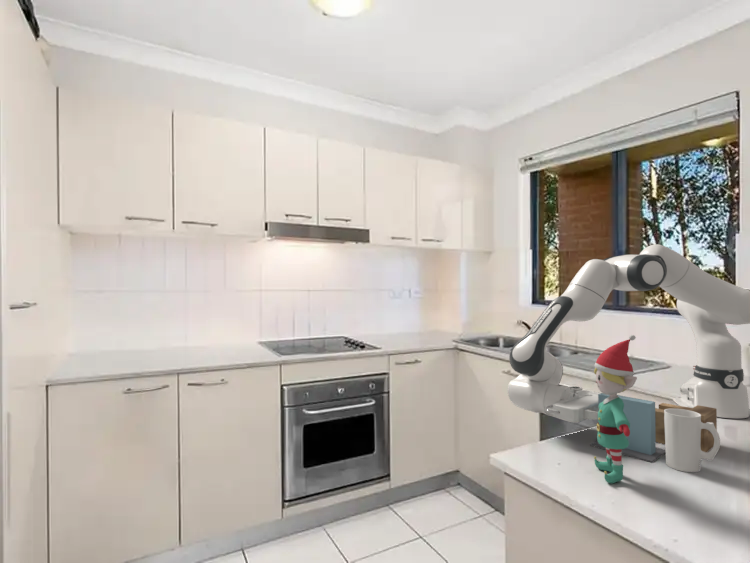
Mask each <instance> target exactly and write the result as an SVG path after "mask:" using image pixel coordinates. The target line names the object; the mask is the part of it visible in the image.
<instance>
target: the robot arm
mask: <svg viewBox="0 0 750 563" xmlns="http://www.w3.org/2000/svg"><path fill="white" fill-rule="evenodd" d="M658 287H659V288H661V289H662V290H664V291H665V292H666V293H668V294H669V295H670V296H672V297H673V298H675V300H676V309H677V312H678V313H679V314H680V315H681V316H682V317H683V318H684V319H685V320H686V321H687V323H688V324H689V327H690V328H691V330H692V334H693V336H694V338H695V339H694V340H695V346H696V365H693V366H692V367H693V368H692V369H693V374H692V375H693V376H692V377H691V378H689V379H688V380H687V381H686V382H684V383H682V385H681V387H680V388H679V393H680V396H675V397H673V398H672V401H673V402H675V403H676V404H677V405H678V406H683V407H689V408H694V407H695V406H697V405H699V406H705V407H711V408H716V409H717V418H723V419H724V418H726V419H745V418H746V419H747V418H749V417H750V403H749V402H750V400H749V394H748V388H747V386H746V385H745V384H744V383H743V382H744V378H745V373H744V369H743V368H742V345H741V343H740V340H738V339H737V338H735V337H734V336H732V334H731V333H730V331H729V330H728V328H727V325H735V326H737V325H739V326H742V325H749V324H750V290H749V289H747V288H743V287H742V286H741V287H740V286H738V285H735V284H733V283H730V282H728V281H726V280H724V279H722V278H719V277H717V276H714V275H713V274H711V273H709V272H706V271H704V269H702V268H700V267H699V266H697V265H696V264H694V263H693V262H692V261H690V260H689V259H687V258H686V257H685V256H684V255H682V254H680V253H679V252H677V251H676V250H673V249H671V248H669V247H667V246H665V245H662V244H658V243H656V244H655V243H654V244H651V245H648V246H646V247H645V248H643V249H642V250H641V251H640V252H639V254H622V255H618V256H609V257H606V258H604V259H598V258H593V259H590V260H588V261H586V262H585V263H584V265H582V267H580V269H579V270H578V271H577V273H576V274H575V276H574V277H573V278H572V280H571V281H570V283H569V284H568V286H567V288H566V289H565V290H564V292H563V293H562V294H561V295H560V296H557V297H556V298H554V299H553V300H552V301H551V302H550V303H549V304H548V306H547V307H546V308H545V309H544V311H542V313H541V314H540V316H539V317H538V318H537V319H536V321H535V322H534V323H533V325H532V326H531V328H530V329H529V330H528V331H527V333H526V334H525V335H523V337H522V338H520V339H519V340H518V341H517V342H516V343H515V344H514V345H513V346H512V347H511V350H510V352H509V359H508V360H509V364H510V366H511V368H512V369H513V370H514V371H515V372H517V373H518V374H519V375H518V376H516V377H515V378H513V379H511V380H510V381H509V382H508V384H507V396H508V399H509V401H510V402H511V404H512V405H514V406H515V407H516V408H519V409H523V410H524V411H529V412H532V413H538V414H539V413H542V414H545V415H546V416H549V417H552V418H556V419H559V420H562V421H565V422H569V423H572V424H579V423H582V422H584V421H586V420H588V421H589V420H592V421H593V420H594V421H598V394H601V393H602V392H596V391H592V390H588V389H583V387H581V386H567V385H566V386H565V385H560V383H561V381H562V377H563V375H564V367H563V364H562V362H561V361H560V360H559V359H558V358H557V357H556V356H554V355H553V354H552V353H551V352H549V351H548V350H547V345H548V344H549V342H550V341H551V340H552V338H553V337H554V336H555V334H556V333H557V332H558V330H559V329H560V328H561V326H562V325H564V324H565V323H567V322H571V321H573V322H582V323H583V322H588V321H590V320H593V319H594V318H595V317H596V316H598V314H599V313H600V312H601V310H602V308H603V306H604V305H605V303H606V302H607V300H608V298H609V296H610V293H611V292H612V291H615V290H616V291H622V292H638V291H640V292H646V291H652V290H655V289H657V288H658Z"/></svg>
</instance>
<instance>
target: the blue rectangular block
mask: <svg viewBox="0 0 750 563" xmlns="http://www.w3.org/2000/svg"><path fill="white" fill-rule="evenodd" d="M600 393H601V394H598V411H599V404H600V403H601V402H603V401H604V400H605V399H606V398H607V397H609V396H610V395H606V394H603V393H602V392H600ZM617 396H619V397H620V398H621V399H622V401H623V403H624V408H623V412H624V414H625V415H626V417H627V419H628V421H629V423H630V428H629V430H630V435H629V436H626V438H627V439H628V441H629V445H628V447H627V448H626V449H630V450H633V451H637V452H641V453H645V454H649V455H652V454H653V453H655V452H656V445H657V444H656V431H655V408H656V401H652V400H648V399H642V398H636V397H631V396H626V395H619V394H617ZM623 433H624V432H623Z"/></svg>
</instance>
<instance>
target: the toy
mask: <svg viewBox="0 0 750 563" xmlns="http://www.w3.org/2000/svg"><path fill="white" fill-rule="evenodd" d="M636 338H637V337H636V335H634V334H631V335H629V337H628V339H626V340H623V341H619V342H617V343H614V344H613V345H611V346H609V347H607V348H605V350H604V351H602V352H601V353H599V356H598V357H597V359H596V360H595V363H594V371H593V373H594V374H595V380H596V381H595V383H596V385H597V388H598V390H599V392H600V393H603V394H606V395H610V396H609V397H607V398H606V399H605V400H604V401H603V402H601V403H600V404H599V411H598V420H597V423H596V431H597V436H596V438H597V440H598V443H599V444H600V445H601V446H603V447H605V448H606V450H605V452H606V457H605V458H606V459H605V460H606V461H599V460H598V459H597V456H596V455H595V456H593V459H594V466H596V468H597V469H598V470H600V471H603V473H604V476H603V477H604V480H605V482H606V483H608V484H615V483H616V482H622V481H623V478H624V465H623V462H622V461H623V459H622V458H623V457H622V456H623V454H622V450H621V449H625V448H627V447H628V445H629V441H628V439H627V438H626V436H629V435H630V430H629V428H630V423H629V421H628V419H627V417H626V415H625V414H624V412H623V408H624V403H623V401H622V399H621V398H620V397H619V396H617V395H618V394H620V393H623V392H625V391H627V390H629V389H631V388H633V386H634V385H635V384H636V381H637V379H638V377H637V376H635V371H634V369H633V368H634V366H633V365H632V363H631V361H630V358H629V356H628V352H629V349H630V343H631V342H630V341H635V340H636ZM623 432H624V433H623ZM597 440H596V441H597ZM608 472H609V473H608Z"/></svg>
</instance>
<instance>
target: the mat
mask: <svg viewBox="0 0 750 563" xmlns="http://www.w3.org/2000/svg"><path fill="white" fill-rule="evenodd" d="M589 446H590V447H594V446H595V448H597V447H599V448H598V449H601V448H602V449H601V450H605V449H606V448H605V447H603V446H601V445H600V444H599V443H598V440H595V441H593V442H590V444H589ZM621 450H622V455H623V454H624V455H623V456H626V455H627V456H626V457H630V458H633V457H634V458H633V459H637V460H641V461H645V462H649V463H654V462H655V461H657V460H659V458H661V457H663V456H664V455H666V452H665V448H661V447H656V452H655V453H653V454H652V455H649V454H645V453H641V452H637V451H633V450H630V449H626V448H625V449H621Z"/></svg>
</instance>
